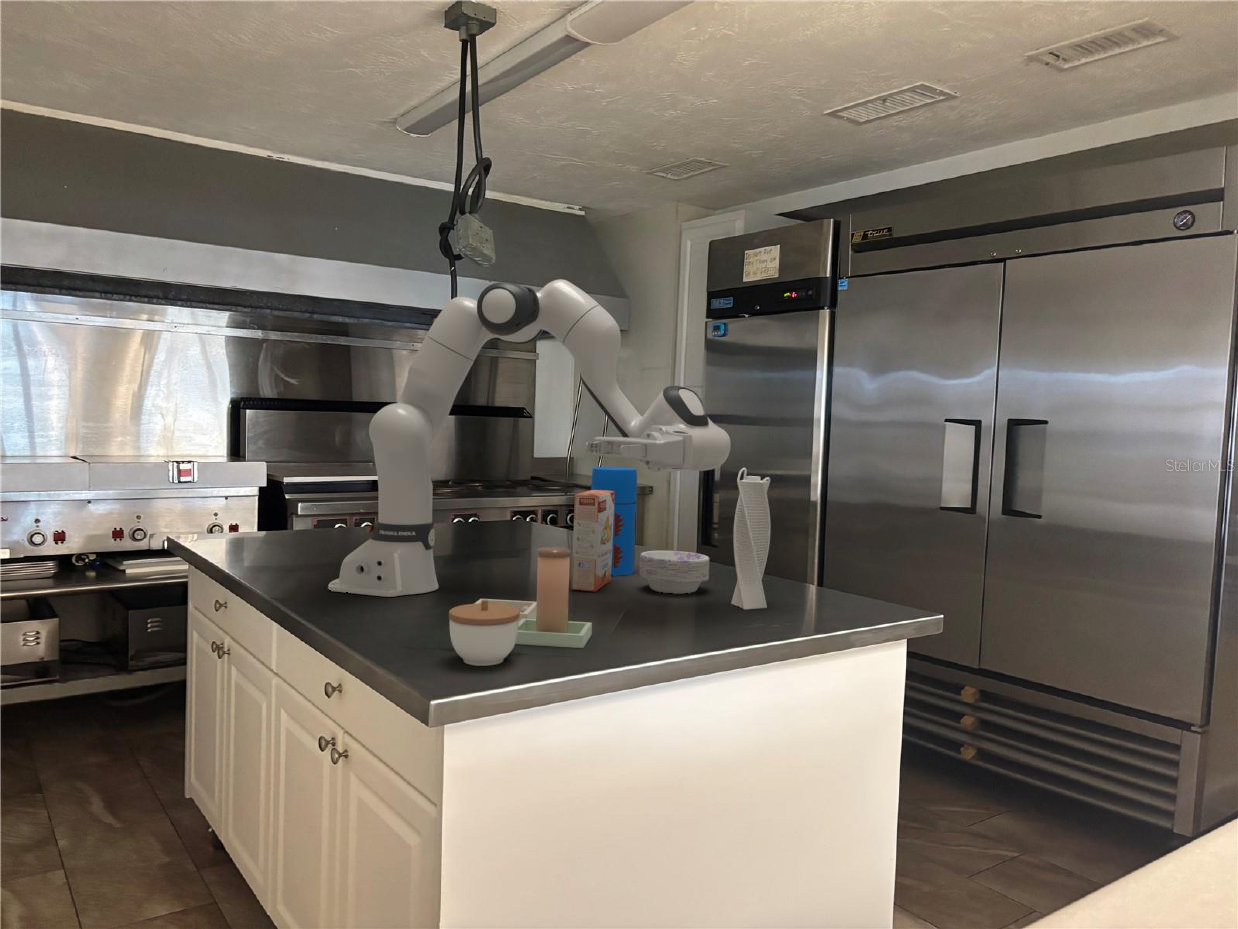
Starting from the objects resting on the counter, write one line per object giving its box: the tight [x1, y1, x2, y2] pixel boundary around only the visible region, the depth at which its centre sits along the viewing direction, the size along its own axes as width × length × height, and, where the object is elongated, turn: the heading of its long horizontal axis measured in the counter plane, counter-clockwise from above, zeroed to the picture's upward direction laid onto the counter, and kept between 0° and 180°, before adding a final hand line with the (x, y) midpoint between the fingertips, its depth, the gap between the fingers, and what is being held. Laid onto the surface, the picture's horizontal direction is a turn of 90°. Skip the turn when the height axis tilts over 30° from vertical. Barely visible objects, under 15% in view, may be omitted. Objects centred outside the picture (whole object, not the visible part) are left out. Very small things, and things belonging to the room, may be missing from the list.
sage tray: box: [515, 619, 593, 649], centre depth 149 cm, size 12×9×3 cm
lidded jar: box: [448, 598, 520, 667], centre depth 139 cm, size 11×11×9 cm
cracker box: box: [570, 489, 615, 593], centre depth 200 cm, size 14×6×21 cm, turn 166°
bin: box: [473, 598, 537, 621], centre depth 162 cm, size 22×10×4 cm, turn 83°
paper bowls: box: [638, 550, 710, 595], centre depth 198 cm, size 15×15×8 cm
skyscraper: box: [731, 467, 771, 610], centre depth 184 cm, size 8×8×28 cm
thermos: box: [591, 466, 638, 577], centre depth 217 cm, size 11×11×25 cm
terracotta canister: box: [536, 546, 571, 633], centre depth 149 cm, size 5×5×15 cm
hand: (603, 448), depth 163 cm, fingers open, 8 cm apart
